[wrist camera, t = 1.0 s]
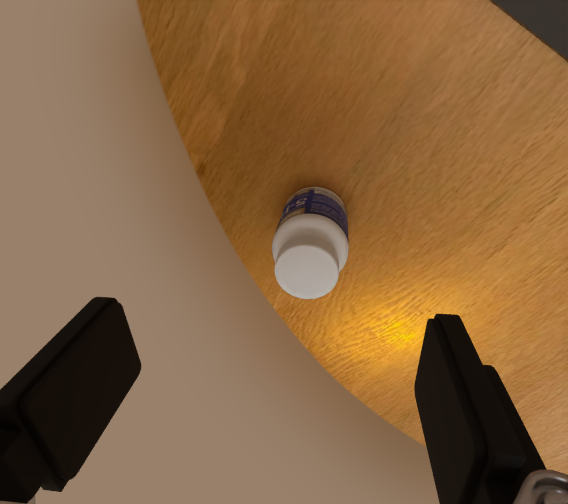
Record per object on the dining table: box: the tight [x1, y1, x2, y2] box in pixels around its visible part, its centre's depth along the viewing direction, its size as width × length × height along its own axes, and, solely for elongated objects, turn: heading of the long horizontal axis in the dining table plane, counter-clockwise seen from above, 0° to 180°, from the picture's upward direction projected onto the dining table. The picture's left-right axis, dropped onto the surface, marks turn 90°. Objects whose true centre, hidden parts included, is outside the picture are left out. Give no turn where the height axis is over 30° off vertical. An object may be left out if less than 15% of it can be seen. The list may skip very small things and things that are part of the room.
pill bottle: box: [272, 187, 349, 299], centre depth 25 cm, size 5×5×9 cm
